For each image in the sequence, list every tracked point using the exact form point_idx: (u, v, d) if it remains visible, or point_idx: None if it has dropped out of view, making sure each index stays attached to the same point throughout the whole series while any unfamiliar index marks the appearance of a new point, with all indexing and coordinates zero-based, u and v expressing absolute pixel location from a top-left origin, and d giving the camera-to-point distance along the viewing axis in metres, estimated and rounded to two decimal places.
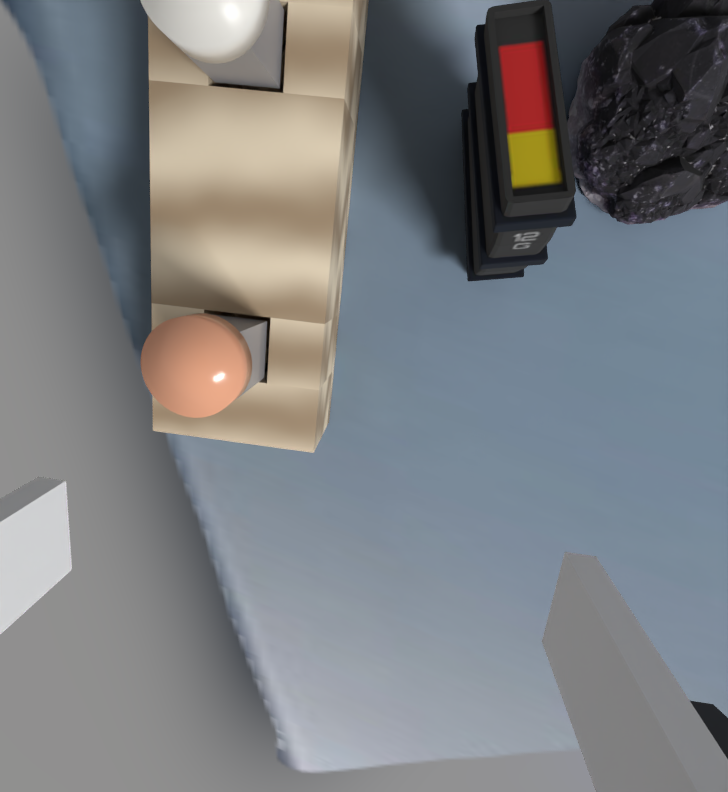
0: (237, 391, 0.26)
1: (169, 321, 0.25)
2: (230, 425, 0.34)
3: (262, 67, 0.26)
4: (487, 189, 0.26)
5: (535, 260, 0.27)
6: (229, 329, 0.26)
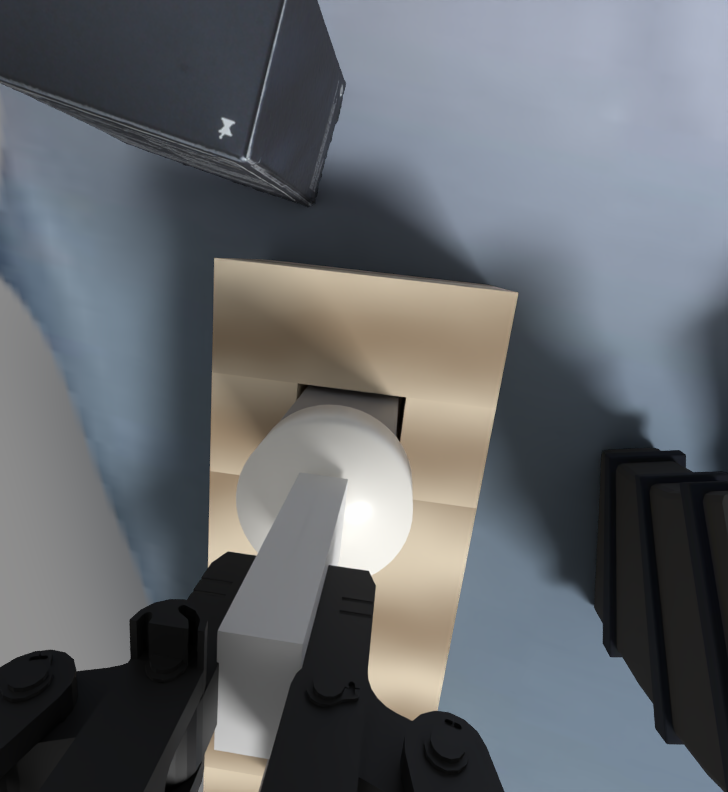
0: None
1: None
2: None
3: None
4: (689, 679, 0.19)
5: None
6: None
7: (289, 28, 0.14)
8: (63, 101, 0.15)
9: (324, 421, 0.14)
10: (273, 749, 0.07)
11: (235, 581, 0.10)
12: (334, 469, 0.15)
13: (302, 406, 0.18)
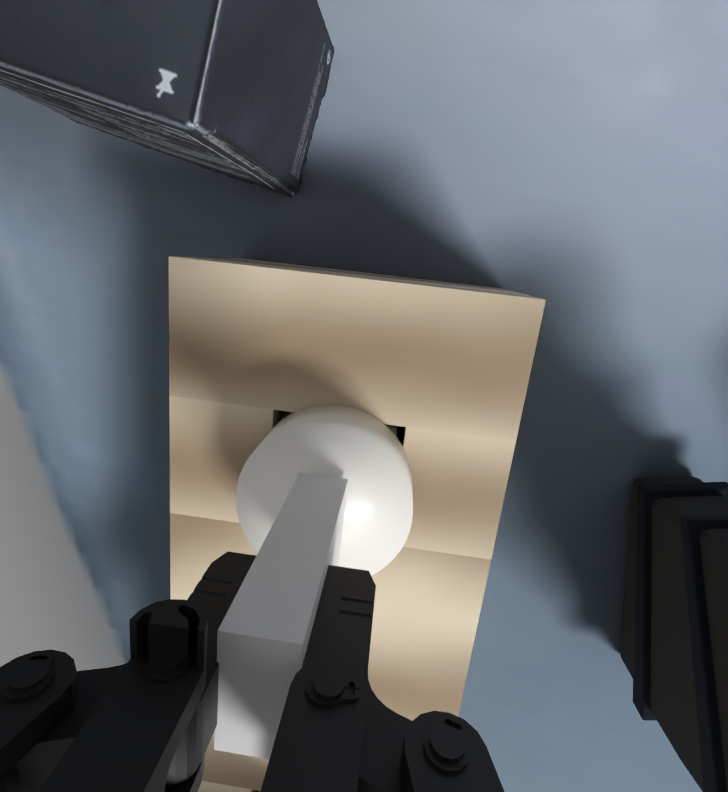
0: None
1: None
2: None
3: None
4: None
5: None
6: None
7: None
8: None
9: (324, 421, 0.14)
10: (273, 749, 0.07)
11: (235, 581, 0.10)
12: (334, 468, 0.15)
13: None
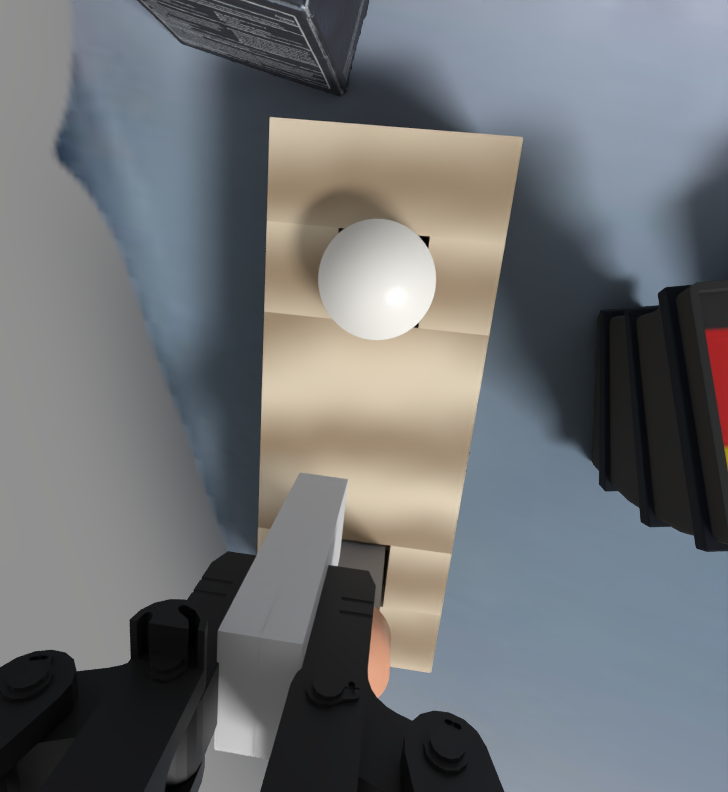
0: None
1: None
2: None
3: None
4: (666, 460, 0.23)
5: None
6: None
7: None
8: None
9: (377, 219, 0.22)
10: (273, 749, 0.07)
11: (235, 581, 0.10)
12: (384, 251, 0.22)
13: None
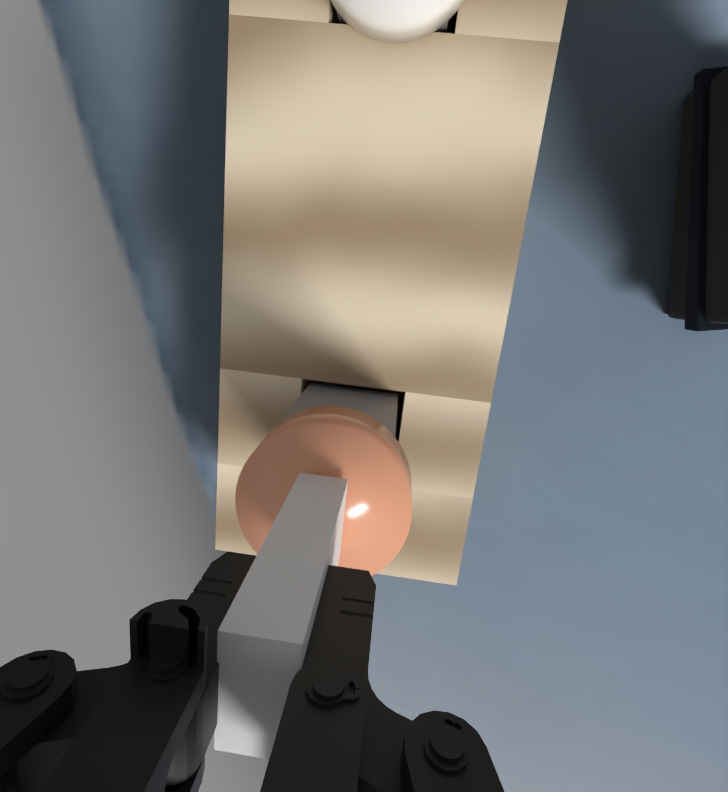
0: None
1: (290, 431, 0.14)
2: None
3: None
4: None
5: None
6: (386, 438, 0.15)
7: None
8: None
9: None
10: (273, 749, 0.07)
11: (235, 581, 0.10)
12: None
13: None
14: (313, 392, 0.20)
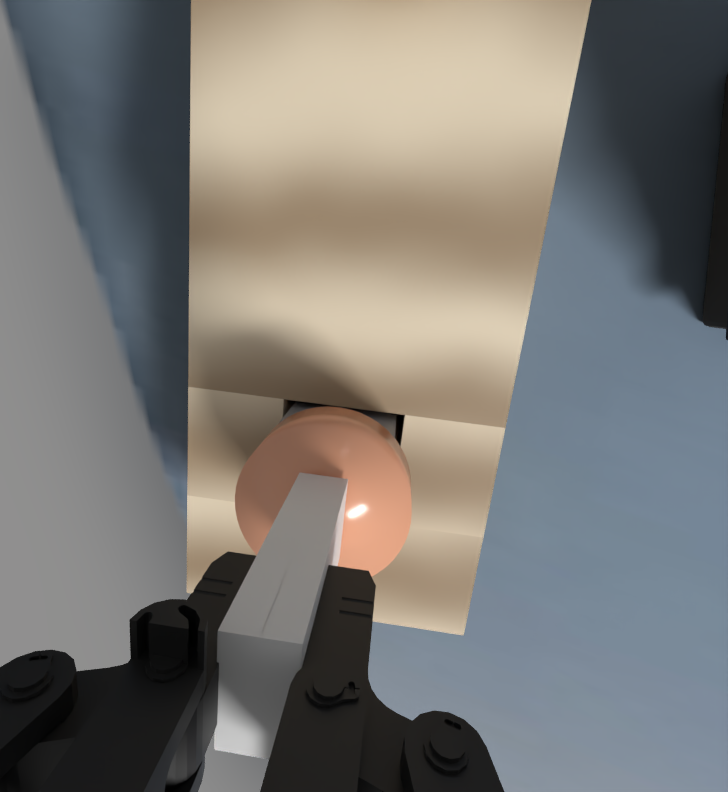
0: None
1: (290, 432, 0.14)
2: None
3: None
4: None
5: None
6: (386, 439, 0.15)
7: None
8: None
9: None
10: (273, 749, 0.07)
11: (235, 581, 0.10)
12: None
13: None
14: None
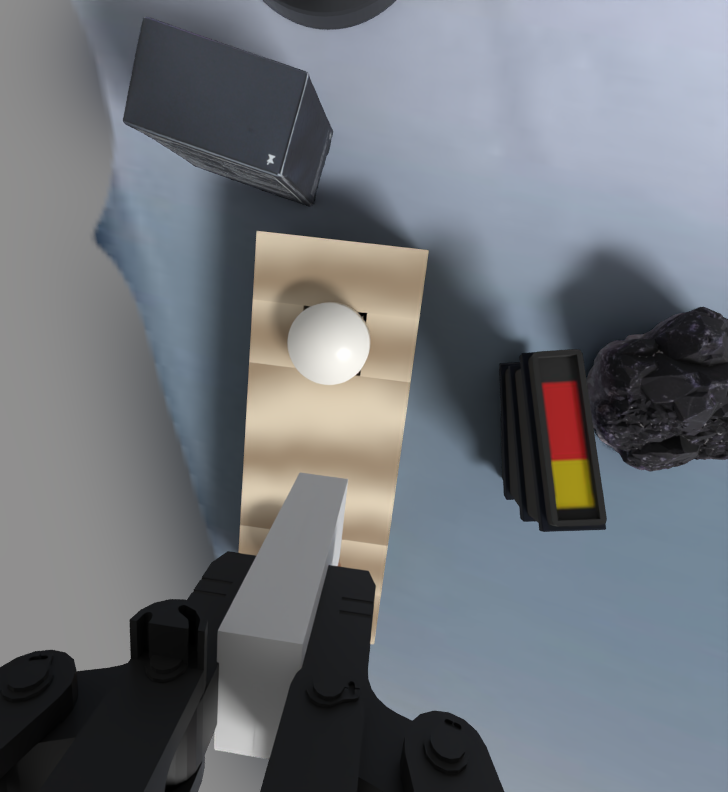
0: None
1: None
2: None
3: None
4: (530, 471, 0.33)
5: None
6: None
7: (303, 110, 0.29)
8: (186, 145, 0.29)
9: (328, 302, 0.32)
10: (273, 749, 0.07)
11: (235, 581, 0.10)
12: (333, 324, 0.32)
13: None
14: None
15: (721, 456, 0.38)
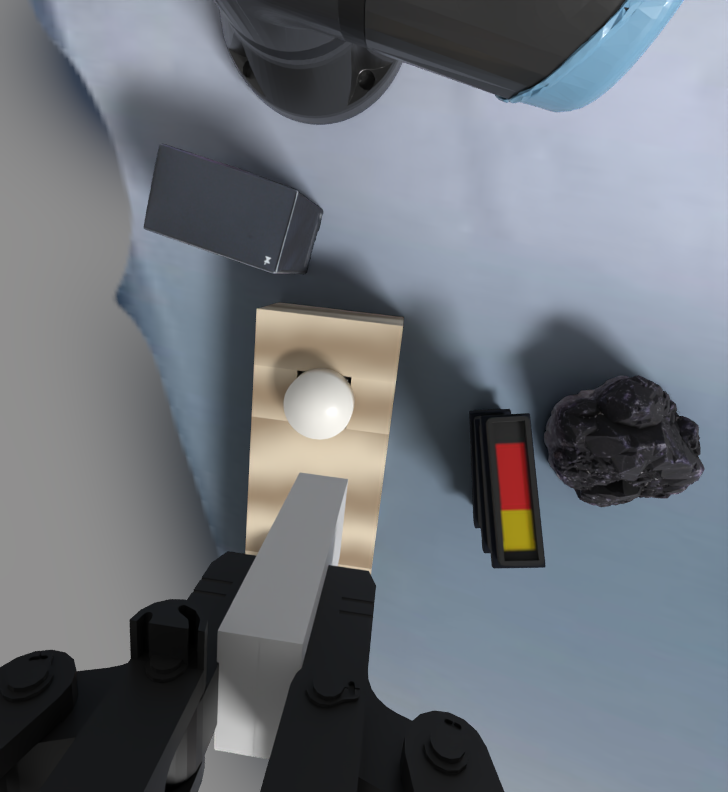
0: None
1: None
2: None
3: None
4: None
5: None
6: None
7: (294, 218, 0.34)
8: None
9: (318, 372, 0.38)
10: (273, 749, 0.07)
11: (235, 581, 0.10)
12: (321, 390, 0.38)
13: None
14: None
15: (660, 496, 0.44)
